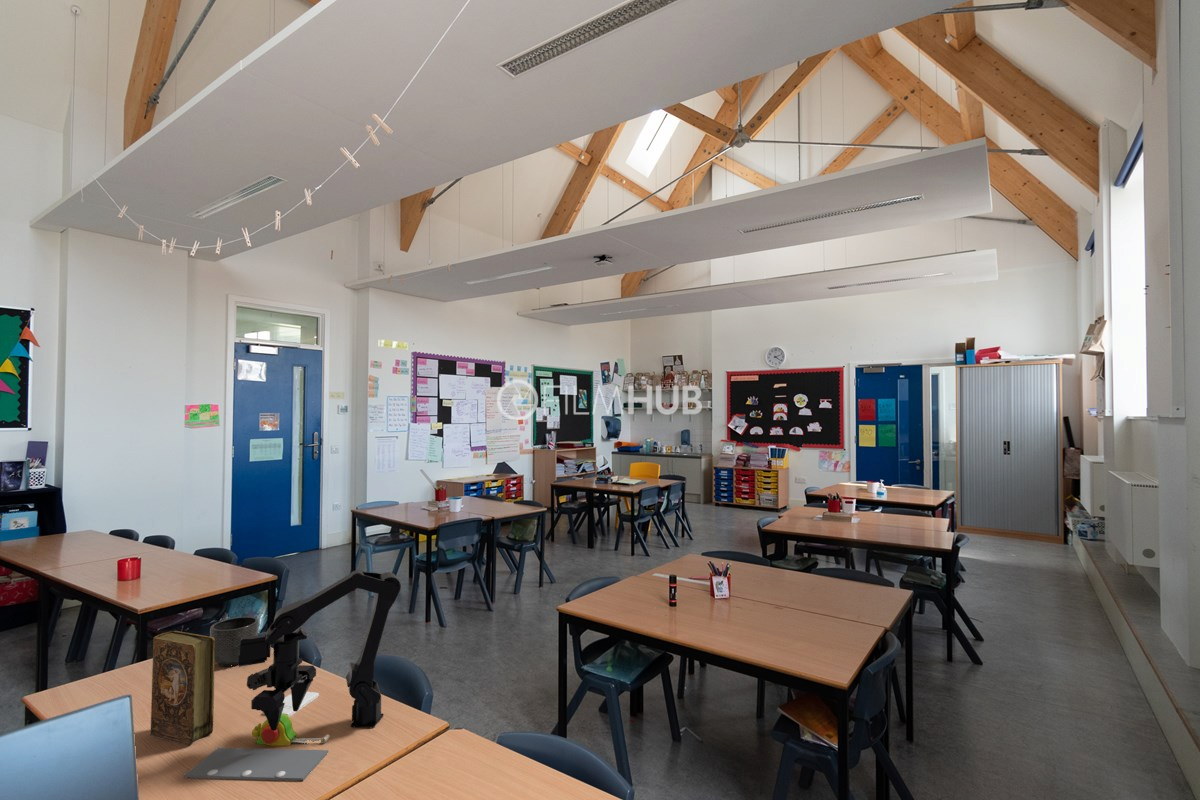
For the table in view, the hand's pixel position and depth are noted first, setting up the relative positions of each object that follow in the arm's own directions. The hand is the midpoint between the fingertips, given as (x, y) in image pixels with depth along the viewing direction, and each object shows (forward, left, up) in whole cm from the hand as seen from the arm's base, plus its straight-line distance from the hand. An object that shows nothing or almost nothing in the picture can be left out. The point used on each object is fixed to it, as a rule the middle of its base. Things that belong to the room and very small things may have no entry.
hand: (285, 720), depth 144 cm
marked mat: (0, +10, -5) cm, 11 cm away
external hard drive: (+9, -18, -6) cm, 21 cm away
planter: (+46, -46, -5) cm, 65 cm away
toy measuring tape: (-1, 0, -6) cm, 6 cm away
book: (+29, -2, -5) cm, 30 cm away
